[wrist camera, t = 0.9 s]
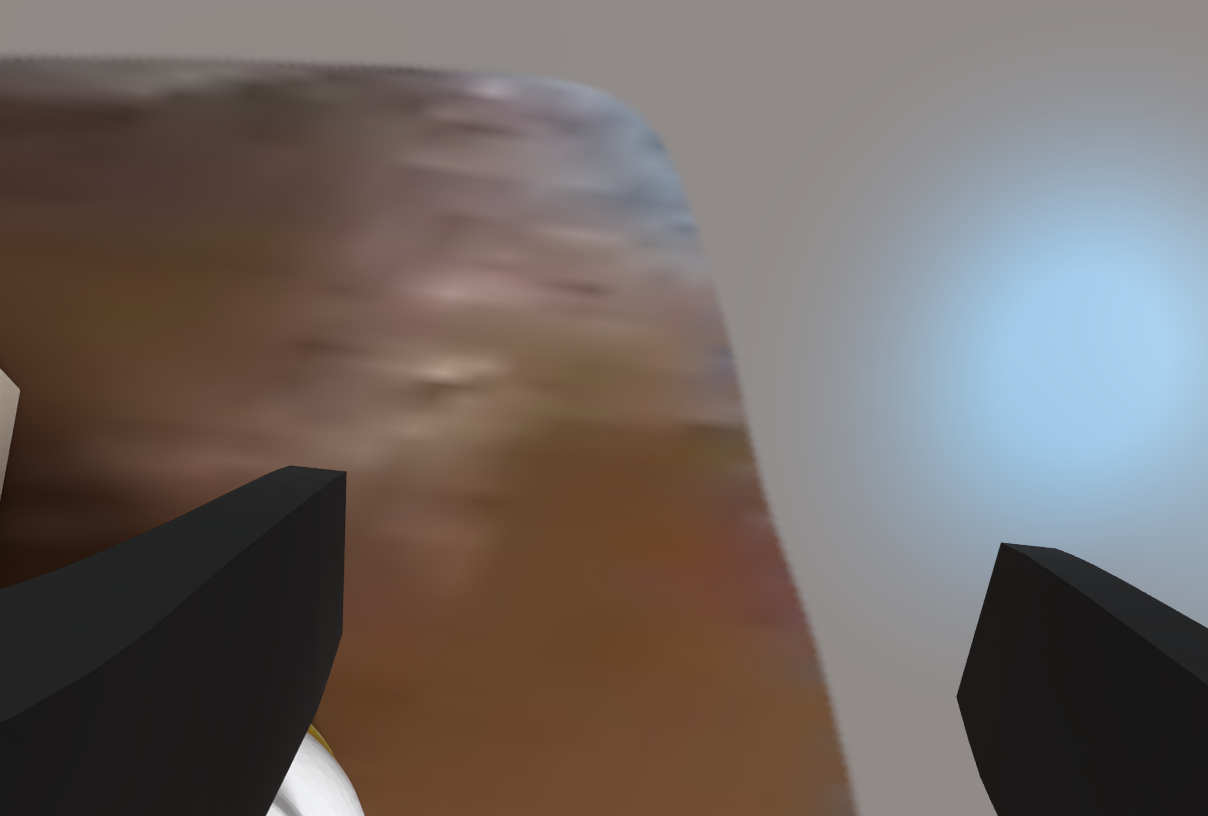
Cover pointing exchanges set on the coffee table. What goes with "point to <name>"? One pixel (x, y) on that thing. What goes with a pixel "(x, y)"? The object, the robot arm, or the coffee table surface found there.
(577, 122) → the coffee table surface
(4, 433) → the notched board
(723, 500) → the coffee table surface
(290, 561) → the robot arm
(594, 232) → the coffee table surface
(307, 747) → the supplement bottle
